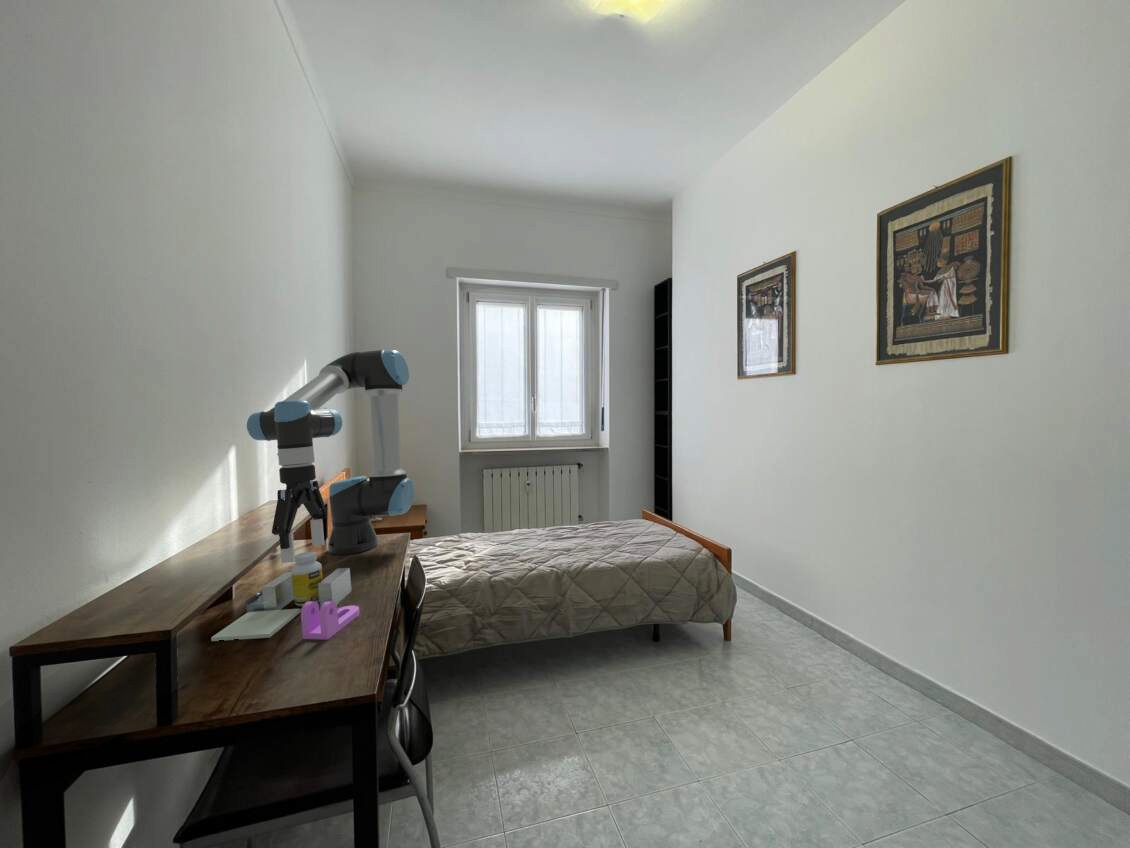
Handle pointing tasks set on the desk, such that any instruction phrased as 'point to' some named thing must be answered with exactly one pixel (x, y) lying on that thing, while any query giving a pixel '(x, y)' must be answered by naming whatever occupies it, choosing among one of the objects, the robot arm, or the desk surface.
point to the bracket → (325, 619)
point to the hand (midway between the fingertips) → (304, 553)
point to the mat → (257, 625)
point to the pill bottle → (306, 578)
